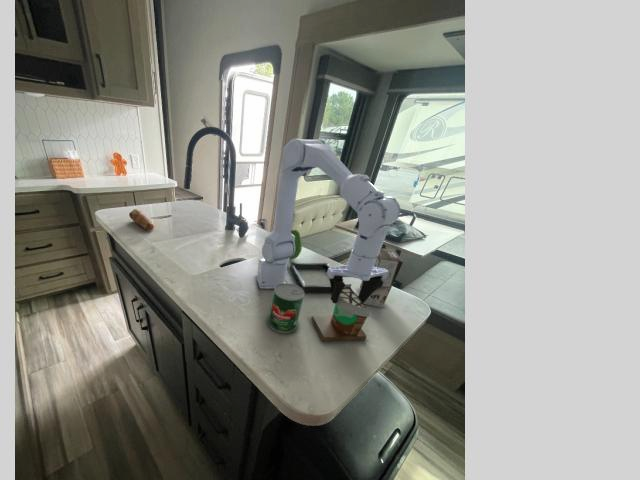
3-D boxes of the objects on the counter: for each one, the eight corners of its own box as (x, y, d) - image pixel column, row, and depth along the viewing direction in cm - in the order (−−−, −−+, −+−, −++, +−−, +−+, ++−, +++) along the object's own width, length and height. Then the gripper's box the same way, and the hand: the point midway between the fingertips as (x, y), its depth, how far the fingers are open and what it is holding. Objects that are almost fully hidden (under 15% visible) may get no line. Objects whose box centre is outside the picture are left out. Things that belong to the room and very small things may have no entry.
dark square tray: (302, 293, 89) (303, 286, 88) (289, 268, 103) (290, 262, 102) (344, 292, 91) (346, 286, 90) (326, 268, 105) (327, 263, 104)
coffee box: (383, 307, 85) (404, 262, 76) (362, 304, 86) (380, 258, 77) (377, 292, 93) (395, 249, 83) (358, 289, 93) (374, 246, 84)
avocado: (291, 252, 115) (296, 225, 108) (303, 260, 109) (309, 232, 102) (276, 255, 112) (280, 227, 105) (287, 263, 106) (292, 234, 99)
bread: (142, 218, 138) (140, 207, 135) (156, 231, 126) (155, 219, 123) (129, 220, 135) (127, 209, 131) (143, 233, 122) (141, 221, 119)
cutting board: (322, 341, 71) (323, 337, 70) (311, 319, 78) (312, 315, 77) (364, 340, 72) (366, 336, 71) (350, 318, 79) (351, 315, 78)
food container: (320, 311, 79) (329, 282, 73) (340, 311, 79) (350, 283, 74) (336, 341, 69) (347, 310, 63) (359, 340, 69) (372, 310, 64)
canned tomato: (270, 332, 72) (275, 299, 66) (267, 314, 79) (272, 282, 72) (299, 333, 72) (307, 300, 66) (294, 315, 79) (301, 283, 73)
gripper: (342, 260, 57) (326, 310, 65) (403, 261, 59) (381, 309, 67) (329, 246, 63) (316, 294, 71) (386, 247, 65) (367, 294, 73)
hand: (347, 301), depth 69 cm, fingers open, 7 cm apart
